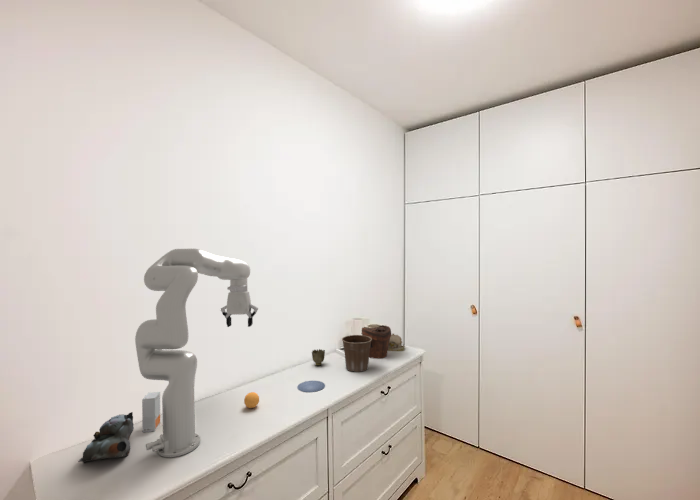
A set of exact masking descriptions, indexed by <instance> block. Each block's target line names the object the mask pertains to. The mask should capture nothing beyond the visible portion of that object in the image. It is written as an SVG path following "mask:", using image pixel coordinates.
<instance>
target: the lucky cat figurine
mask: <svg viewBox="0 0 700 500" xmlns="http://www.w3.org/2000/svg"><path fill="white" fill-rule="evenodd" d="M134 429H135V428H134V415H133V411H132V412H129V413H127V414H125V413H124V414H117V415H115V416H112V417H110V418H109V419H107V420H106V421H105V422H104V423H102V424H101V426H100V427H99V431H95V433H94V434H93V438H94V439H92V440H91V442H90V443H88V444H87V445H86V448H85V449H84V451H83V452H82V457H81V458H79V459H78V460H77V462H78V463H80V462H82V463H85V462H91V461H97V460H102V459H113V458H123V457H124V458H125V457H128V456H129V454H130V452H131V442H130V438H131V436H132V434H133V432H134Z"/></svg>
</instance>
